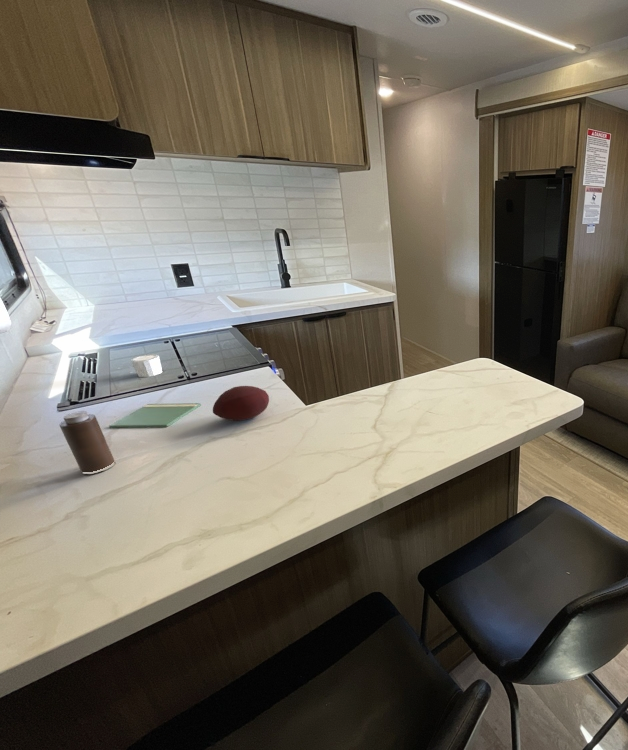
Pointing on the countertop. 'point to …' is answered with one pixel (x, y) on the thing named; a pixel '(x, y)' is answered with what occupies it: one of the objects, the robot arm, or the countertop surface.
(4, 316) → the robot arm
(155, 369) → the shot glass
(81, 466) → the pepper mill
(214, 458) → the countertop surface
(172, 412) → the tea towel
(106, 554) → the countertop surface
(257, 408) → the potato
